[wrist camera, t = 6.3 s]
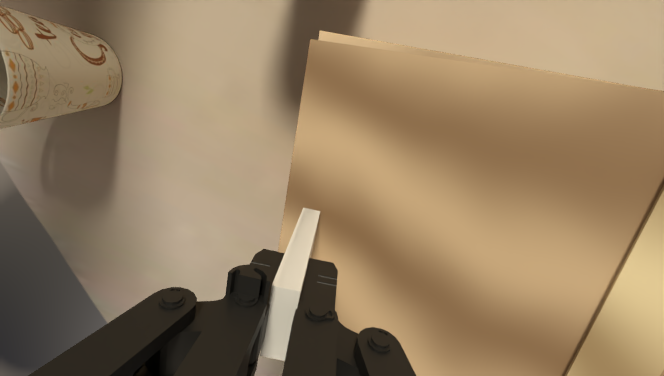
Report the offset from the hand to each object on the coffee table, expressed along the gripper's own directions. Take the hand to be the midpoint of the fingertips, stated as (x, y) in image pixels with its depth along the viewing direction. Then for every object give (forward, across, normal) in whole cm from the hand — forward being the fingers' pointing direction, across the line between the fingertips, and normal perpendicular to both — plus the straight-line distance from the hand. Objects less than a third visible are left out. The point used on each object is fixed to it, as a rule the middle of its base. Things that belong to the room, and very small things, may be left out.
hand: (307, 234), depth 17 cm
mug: (+16, -24, +2) cm, 28 cm away
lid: (-2, +6, 0) cm, 6 cm away
